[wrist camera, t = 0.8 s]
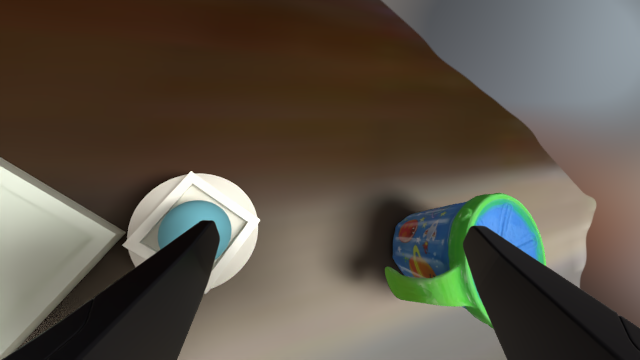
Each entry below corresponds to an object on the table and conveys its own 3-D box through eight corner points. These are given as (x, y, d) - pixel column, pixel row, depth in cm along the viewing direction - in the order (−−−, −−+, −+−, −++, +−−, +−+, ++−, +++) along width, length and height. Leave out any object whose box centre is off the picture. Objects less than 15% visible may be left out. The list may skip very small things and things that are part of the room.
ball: (204, 272, 16) (200, 288, 13) (150, 239, 15) (129, 247, 12) (241, 223, 18) (248, 225, 14) (193, 190, 17) (188, 183, 13)
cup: (210, 298, 19) (209, 318, 16) (115, 244, 17) (88, 251, 14) (269, 216, 22) (280, 216, 18) (193, 161, 20) (188, 148, 16)
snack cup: (449, 190, 32) (545, 179, 23) (467, 270, 31) (574, 293, 22) (349, 214, 25) (426, 213, 16) (369, 316, 25) (461, 375, 16)
